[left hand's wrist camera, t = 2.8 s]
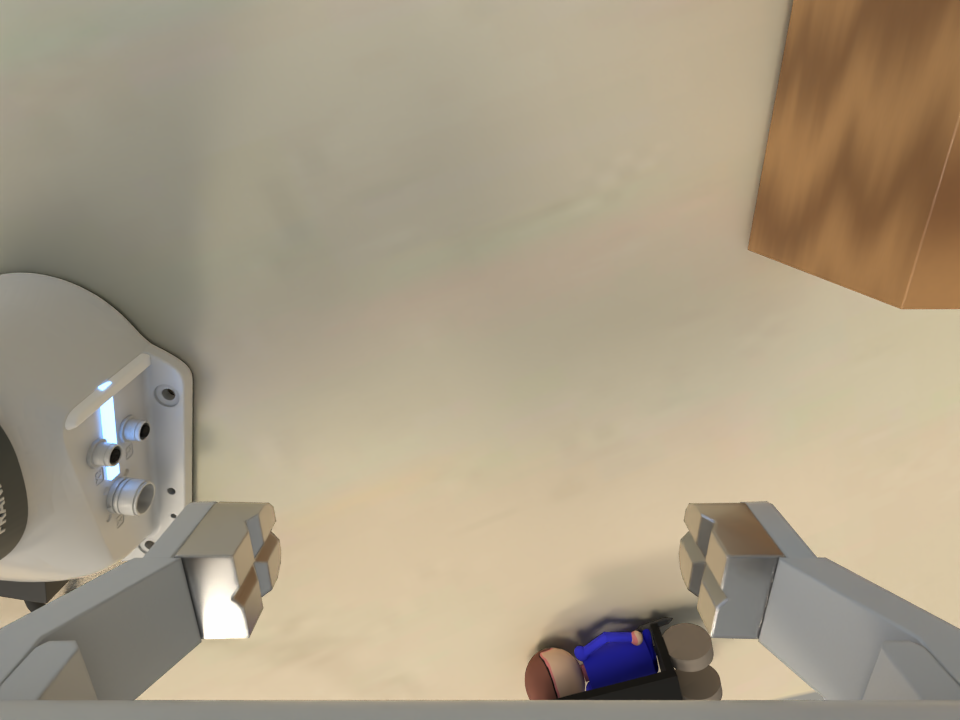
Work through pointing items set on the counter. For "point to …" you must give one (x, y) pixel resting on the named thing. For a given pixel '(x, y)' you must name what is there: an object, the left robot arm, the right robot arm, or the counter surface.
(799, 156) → the box
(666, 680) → the figurine character
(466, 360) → the counter surface
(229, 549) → the left robot arm
